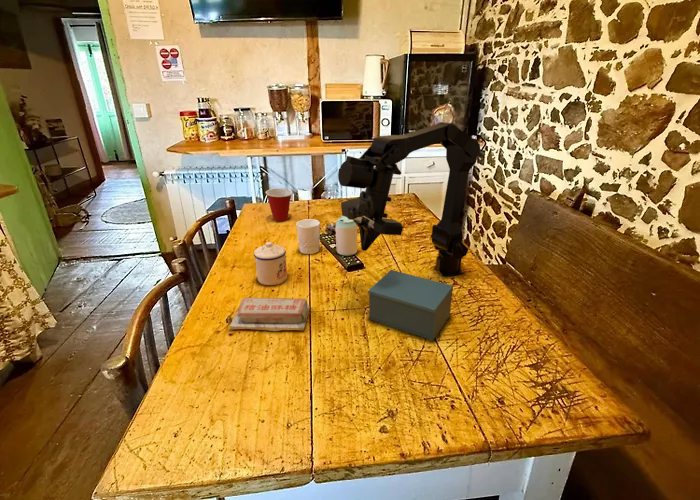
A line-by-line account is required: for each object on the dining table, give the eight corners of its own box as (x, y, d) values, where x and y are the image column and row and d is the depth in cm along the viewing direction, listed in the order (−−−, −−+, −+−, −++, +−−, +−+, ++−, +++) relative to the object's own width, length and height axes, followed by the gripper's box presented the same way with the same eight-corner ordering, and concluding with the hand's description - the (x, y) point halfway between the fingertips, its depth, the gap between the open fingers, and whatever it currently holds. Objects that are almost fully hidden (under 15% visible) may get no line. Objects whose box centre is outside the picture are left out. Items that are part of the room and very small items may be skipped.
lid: (434, 313, 86) (434, 310, 86) (368, 293, 94) (368, 290, 94) (452, 288, 95) (453, 285, 95) (390, 272, 103) (390, 269, 103)
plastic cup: (292, 223, 159) (290, 195, 154) (265, 223, 159) (262, 195, 154) (296, 214, 169) (294, 187, 164) (271, 214, 169) (268, 187, 164)
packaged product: (309, 292, 100) (303, 315, 91) (310, 308, 102) (304, 332, 93) (239, 291, 101) (226, 313, 92) (242, 307, 103) (229, 330, 94)
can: (350, 258, 129) (349, 224, 124) (332, 253, 133) (331, 220, 128) (361, 250, 135) (361, 217, 130) (343, 246, 138) (343, 214, 133)
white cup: (293, 253, 134) (291, 225, 129) (304, 244, 140) (303, 217, 136) (314, 256, 131) (313, 228, 127) (324, 247, 138) (323, 220, 133)
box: (432, 340, 90) (435, 311, 86) (369, 319, 98) (369, 292, 94) (449, 315, 99) (452, 288, 95) (390, 298, 107) (390, 272, 103)
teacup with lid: (283, 286, 113) (280, 249, 108) (252, 285, 114) (248, 248, 109) (293, 267, 124) (290, 233, 119) (265, 266, 125) (261, 232, 120)
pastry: (356, 235, 147) (356, 226, 146) (324, 235, 148) (324, 226, 146) (356, 228, 154) (356, 219, 152) (326, 228, 154) (325, 219, 153)
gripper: (330, 178, 99) (319, 237, 103) (372, 196, 84) (357, 264, 89) (366, 183, 105) (354, 238, 109) (411, 201, 90) (395, 264, 95)
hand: (363, 250), depth 100 cm, fingers closed
